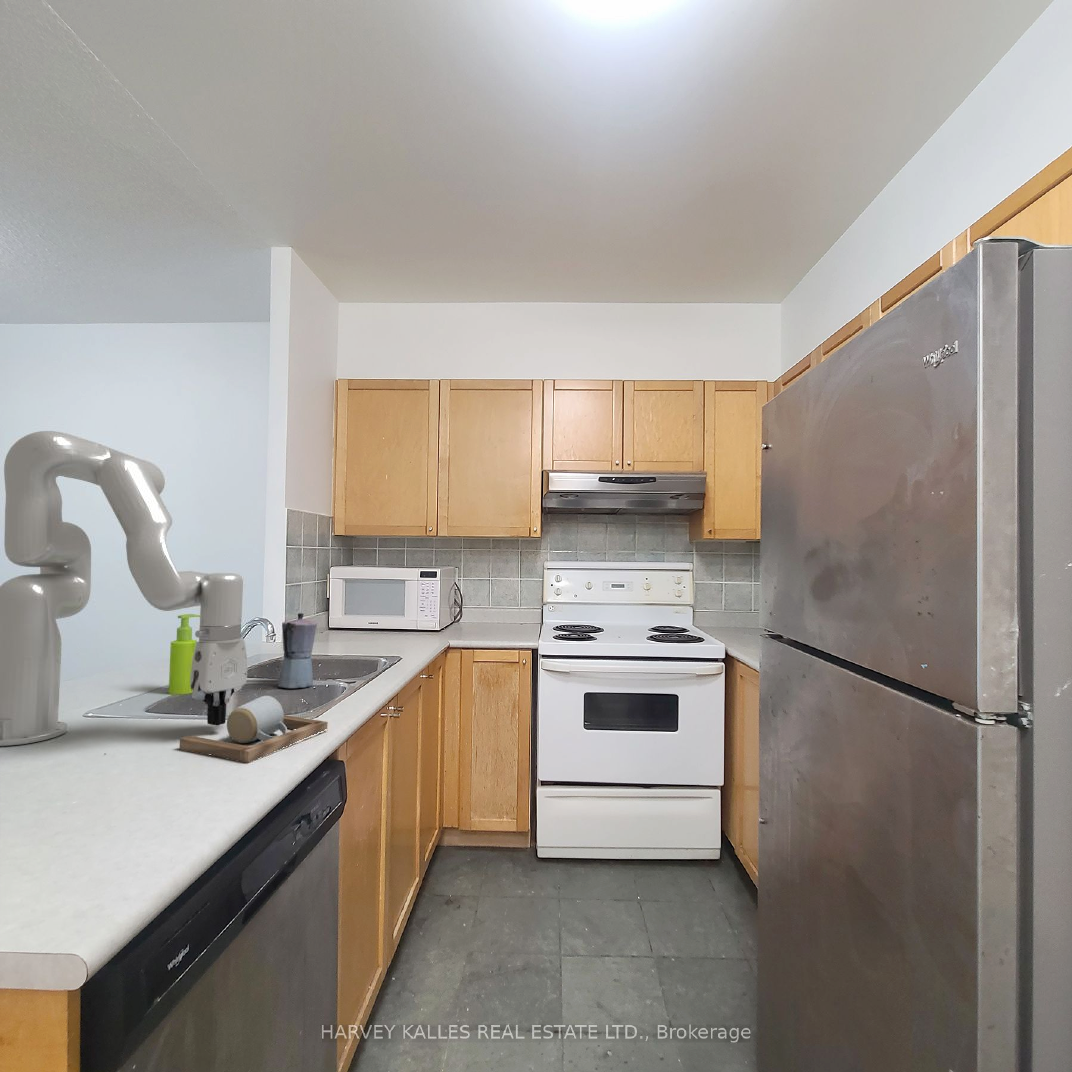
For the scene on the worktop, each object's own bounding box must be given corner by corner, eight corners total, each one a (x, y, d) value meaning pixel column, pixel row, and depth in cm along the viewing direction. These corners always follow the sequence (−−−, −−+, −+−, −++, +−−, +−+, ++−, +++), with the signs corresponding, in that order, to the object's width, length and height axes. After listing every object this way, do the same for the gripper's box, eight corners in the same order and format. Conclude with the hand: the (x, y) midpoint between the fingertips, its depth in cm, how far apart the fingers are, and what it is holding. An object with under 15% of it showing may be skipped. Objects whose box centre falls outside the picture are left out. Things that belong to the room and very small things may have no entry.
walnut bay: (248, 763, 102) (248, 751, 102) (179, 749, 108) (179, 738, 108) (327, 731, 120) (327, 721, 120) (264, 721, 126) (265, 712, 126)
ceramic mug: (222, 743, 112) (224, 703, 112) (252, 730, 120) (254, 693, 120) (269, 749, 109) (271, 708, 110) (297, 736, 117) (298, 698, 118)
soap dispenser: (203, 690, 152) (206, 614, 153) (176, 696, 146) (179, 616, 147) (191, 687, 155) (194, 612, 156) (163, 692, 149) (167, 615, 150)
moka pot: (322, 680, 167) (325, 611, 167) (303, 693, 151) (305, 617, 152) (289, 680, 167) (291, 610, 167) (266, 693, 151) (268, 616, 152)
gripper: (200, 639, 110) (195, 736, 110) (263, 630, 124) (259, 717, 124) (172, 636, 113) (168, 731, 112) (237, 628, 127) (234, 712, 126)
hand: (216, 723), depth 118 cm, fingers closed
